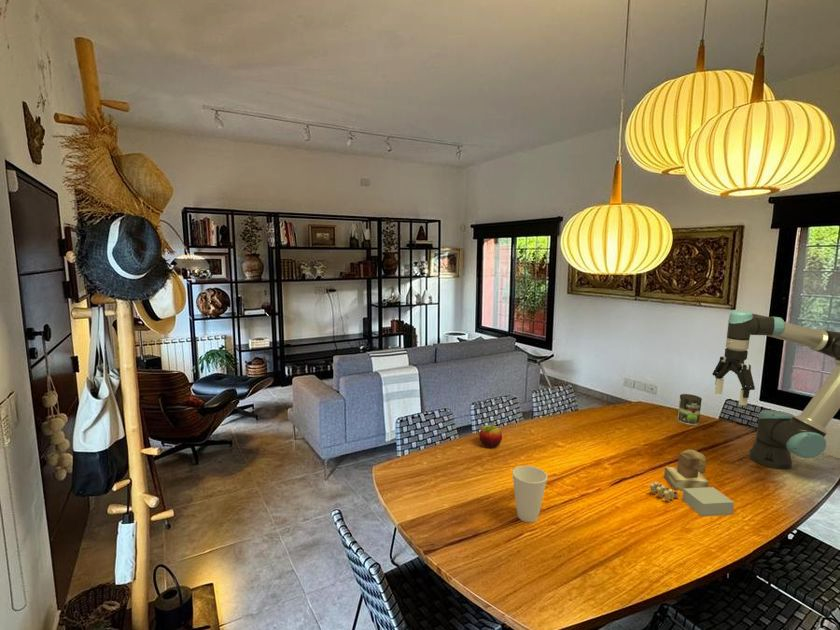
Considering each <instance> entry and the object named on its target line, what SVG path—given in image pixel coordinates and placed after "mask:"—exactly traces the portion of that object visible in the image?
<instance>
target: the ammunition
mask: <svg viewBox="0 0 840 630" xmlns="http://www.w3.org/2000/svg"><path fill="white" fill-rule="evenodd" d="M649 488H650V491H651V493H652V494H653V495H655V494H656V492H657V494H658V497H659V498H660V499H663V497H664V498H665V500H666V502H668V503H670V501H671V499H674V498H675V499H678V498H679V493H678V492H677V491H674V489H673V488H670V487H666V485H664V484H659V482H658V481H653V482H651V483H649Z"/></svg>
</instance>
